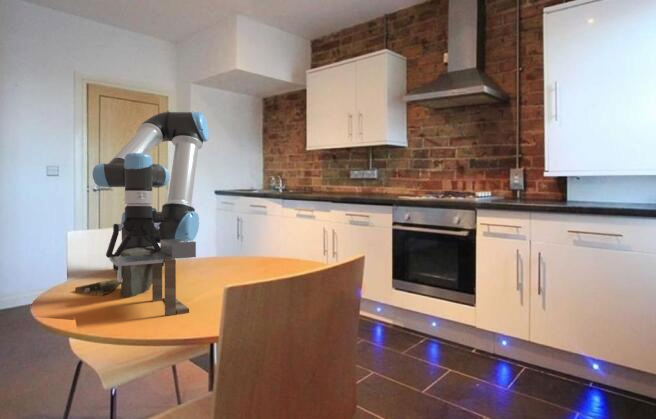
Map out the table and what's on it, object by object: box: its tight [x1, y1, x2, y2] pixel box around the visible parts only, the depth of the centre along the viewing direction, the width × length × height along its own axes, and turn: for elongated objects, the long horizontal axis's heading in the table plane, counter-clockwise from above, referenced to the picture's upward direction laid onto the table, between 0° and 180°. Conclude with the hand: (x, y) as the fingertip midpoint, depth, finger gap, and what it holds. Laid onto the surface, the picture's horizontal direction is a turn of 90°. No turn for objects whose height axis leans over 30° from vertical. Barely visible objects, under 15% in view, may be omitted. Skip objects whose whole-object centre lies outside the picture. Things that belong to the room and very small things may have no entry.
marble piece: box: [119, 246, 157, 299], centre depth 121 cm, size 17×15×4 cm
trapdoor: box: [109, 239, 197, 266], centre depth 106 cm, size 13×19×5 cm
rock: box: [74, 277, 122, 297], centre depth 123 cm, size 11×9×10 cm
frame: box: [151, 253, 190, 317], centre depth 109 cm, size 16×6×14 cm, turn 34°
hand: (139, 279), depth 121 cm, fingers open, 10 cm apart
